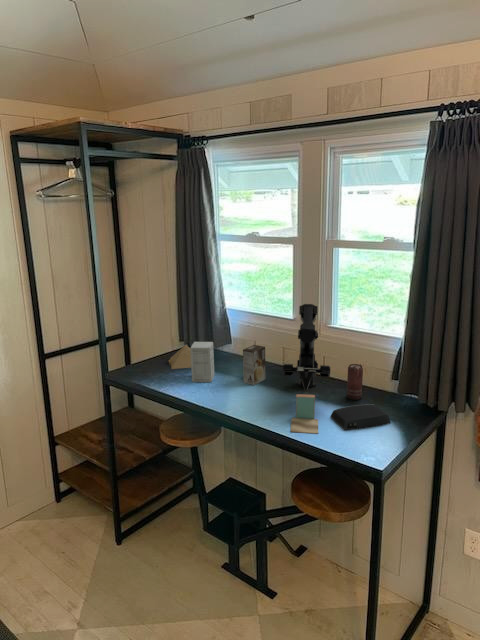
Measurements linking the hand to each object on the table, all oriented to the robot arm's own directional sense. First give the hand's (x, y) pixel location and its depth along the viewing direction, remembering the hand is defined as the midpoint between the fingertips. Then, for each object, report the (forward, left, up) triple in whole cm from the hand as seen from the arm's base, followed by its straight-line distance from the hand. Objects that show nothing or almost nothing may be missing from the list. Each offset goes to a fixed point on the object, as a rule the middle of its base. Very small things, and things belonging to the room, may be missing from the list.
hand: (305, 390), depth 194 cm
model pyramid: (-74, -30, -9) cm, 80 cm away
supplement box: (-49, -28, -9) cm, 57 cm away
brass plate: (+11, -6, -9) cm, 16 cm away
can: (-4, +25, -9) cm, 27 cm away
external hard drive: (+15, +15, -9) cm, 23 cm away
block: (+5, -3, -9) cm, 11 cm away
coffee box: (-37, -7, -9) cm, 39 cm away
